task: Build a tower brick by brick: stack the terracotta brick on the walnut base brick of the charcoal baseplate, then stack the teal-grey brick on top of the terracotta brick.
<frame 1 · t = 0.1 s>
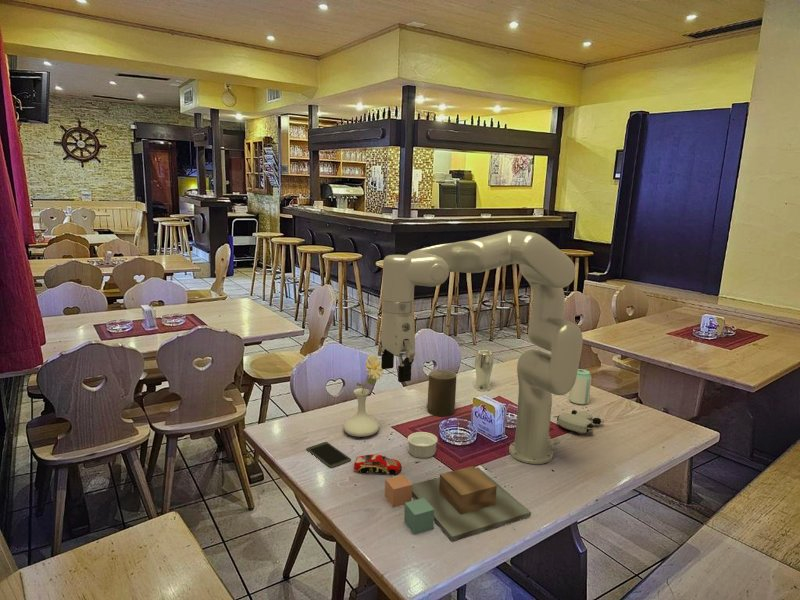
hand: (395, 374, 126), 31 cm above the table, tool pointing down, fingers open, 9 cm apart
robot toy: (578, 428, 171), on the table
tower base: (466, 502, 127), on the table
cell phone: (328, 456, 149), on the table
flower in vase: (363, 431, 164), on the table
pillar candle: (441, 411, 181), on the table
terracotta brick: (398, 499, 128), on the table
race car: (377, 471, 141), on the table
ramekin: (422, 452, 152), on the table
teal-grey brick: (418, 525, 118), on the table
beer glass: (482, 388, 202), on the table
can: (578, 402, 192), on the table
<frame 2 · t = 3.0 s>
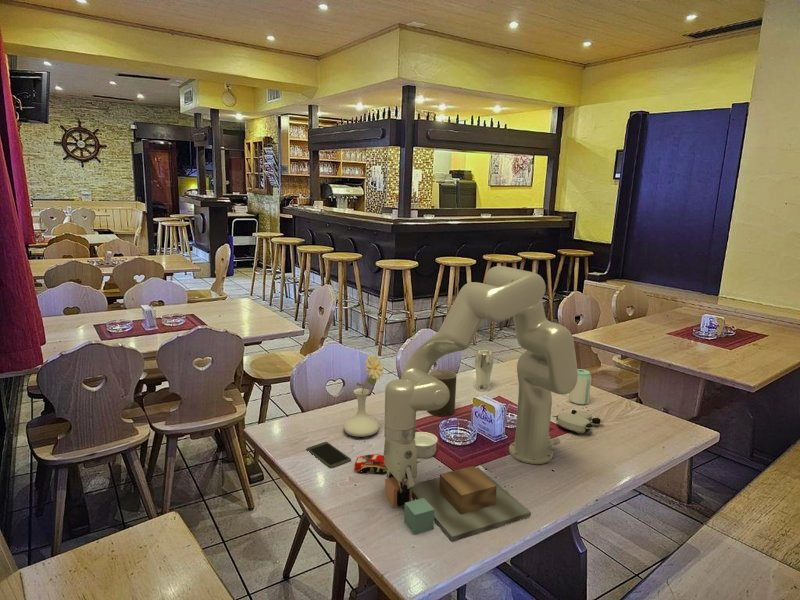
hand: (398, 497, 128), 0 cm above the table, tool pointing down, fingers closed on terracotta brick, 4 cm apart
terracotta brick: (398, 499, 128), on the table, touching gripper
everything else where it was.
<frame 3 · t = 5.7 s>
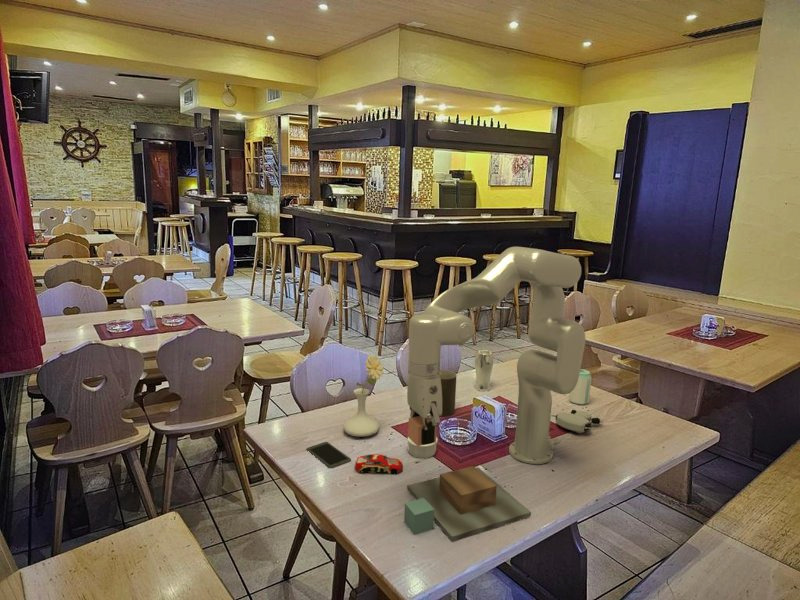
hand: (422, 437, 124), 17 cm above the table, tool pointing down, fingers closed on terracotta brick, 4 cm apart
terracotta brick: (422, 439, 124), point 16 cm above the table, touching gripper
everything else where it was.
when the fingers open (8 cm above the table, at t = 8.5 s): terracotta brick drops 1 cm, resting on tower base.
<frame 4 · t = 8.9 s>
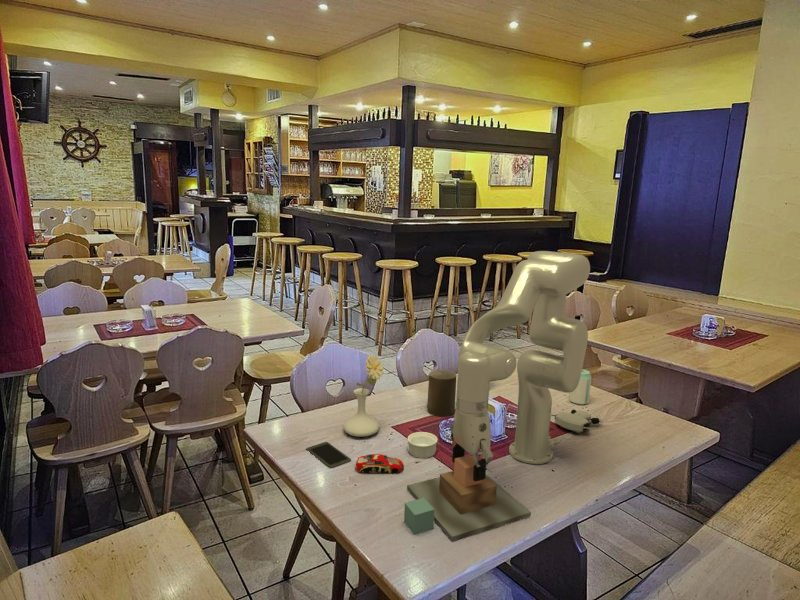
hand: (468, 470, 125), 9 cm above the table, tool pointing down, fingers open, 8 cm apart
terracotta brick: (467, 479, 126), point 6 cm above the table, touching tower base
everything else where it was.
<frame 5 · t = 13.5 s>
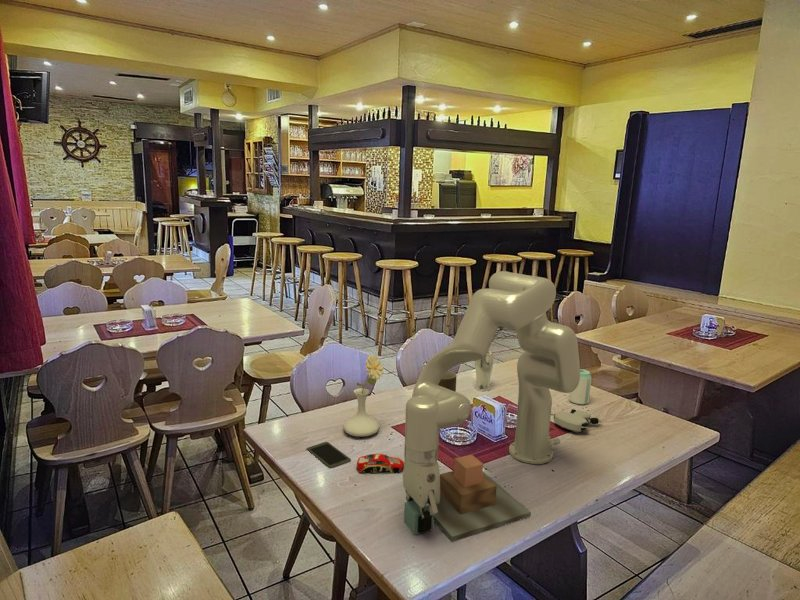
hand: (418, 523, 118), 0 cm above the table, tool pointing down, fingers closed on teal-grey brick, 5 cm apart
teal-grey brick: (418, 525, 118), on the table, touching gripper
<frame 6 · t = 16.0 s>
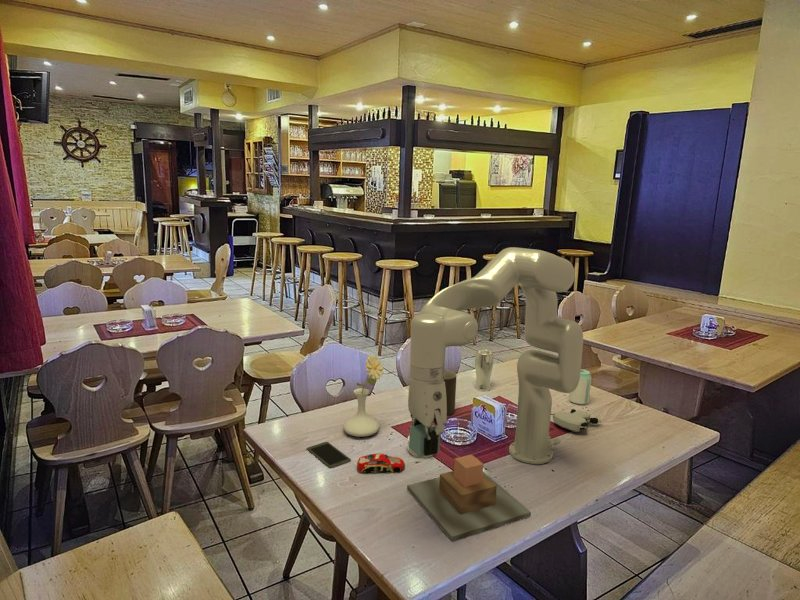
hand: (424, 447, 115), 19 cm above the table, tool pointing down, fingers closed on teal-grey brick, 5 cm apart
teal-grey brick: (424, 449, 115), point 19 cm above the table, touching gripper
when the fingers open (13 cm above the table, at t = 18.4 s): teal-grey brick drops 1 cm, resting on terracotta brick.
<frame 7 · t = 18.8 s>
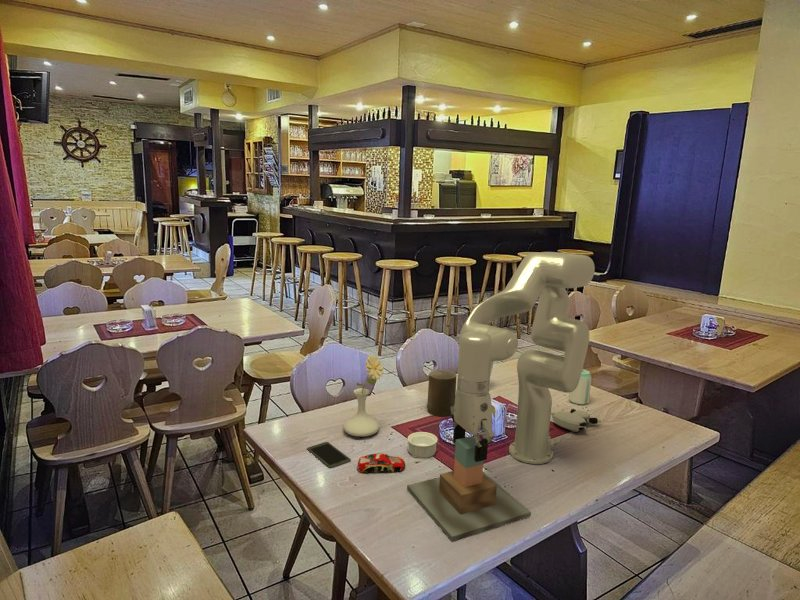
hand: (469, 451, 124), 14 cm above the table, tool pointing down, fingers open, 9 cm apart
terracotta brick: (467, 479, 126), point 6 cm above the table, touching teal-grey brick, tower base
teal-grey brick: (468, 461, 125), point 11 cm above the table, touching terracotta brick
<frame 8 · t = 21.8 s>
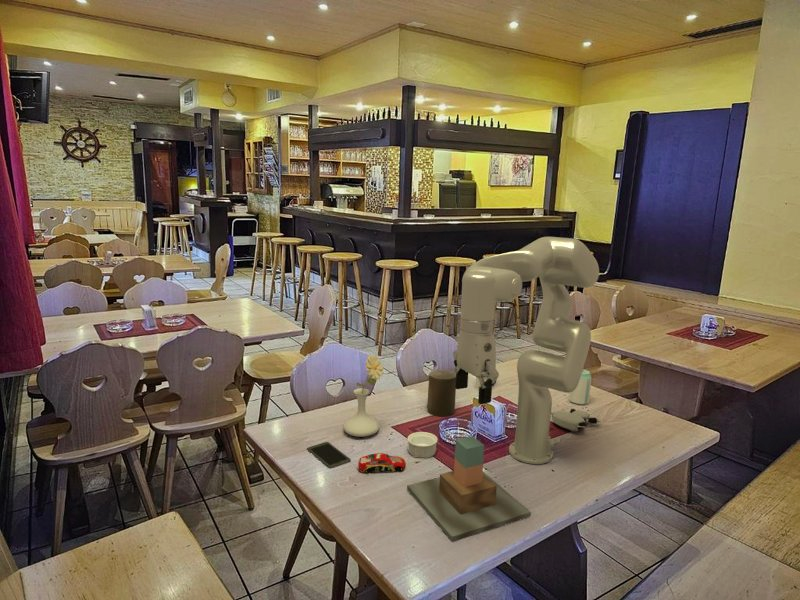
hand: (472, 395, 121), 28 cm above the table, tool pointing down, fingers open, 9 cm apart
at the end: terracotta brick 0.0 cm off-centre on the tower base, point 6.2 cm above the tower base's base; teal-grey brick 0.0 cm off-centre on the tower base, point 11.2 cm above the tower base's base; teal-grey brick tilted 0° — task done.
